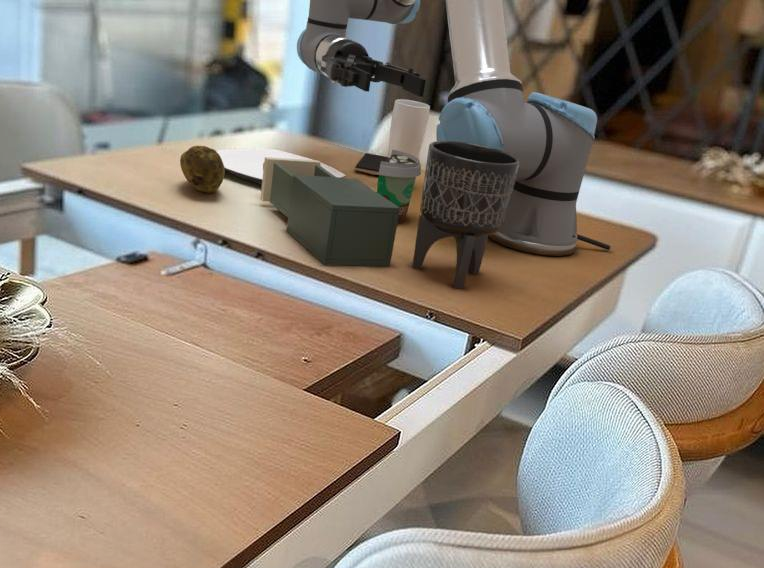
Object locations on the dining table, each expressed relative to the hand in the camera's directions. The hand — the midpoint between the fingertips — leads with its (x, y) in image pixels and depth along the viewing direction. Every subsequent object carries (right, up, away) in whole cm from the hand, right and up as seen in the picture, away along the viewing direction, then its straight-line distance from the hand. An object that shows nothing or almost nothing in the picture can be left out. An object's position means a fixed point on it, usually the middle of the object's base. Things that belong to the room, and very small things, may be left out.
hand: (395, 85), depth 169 cm
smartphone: (-2, -1, +36) cm, 36 cm away
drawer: (-16, -22, -3) cm, 27 cm away
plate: (-22, -9, +18) cm, 30 cm away
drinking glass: (+2, -8, +27) cm, 28 cm away
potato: (-33, -18, 0) cm, 37 cm away
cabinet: (-10, -31, -16) cm, 36 cm away
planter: (+7, -36, -19) cm, 42 cm away
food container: (0, -21, +5) cm, 22 cm away
